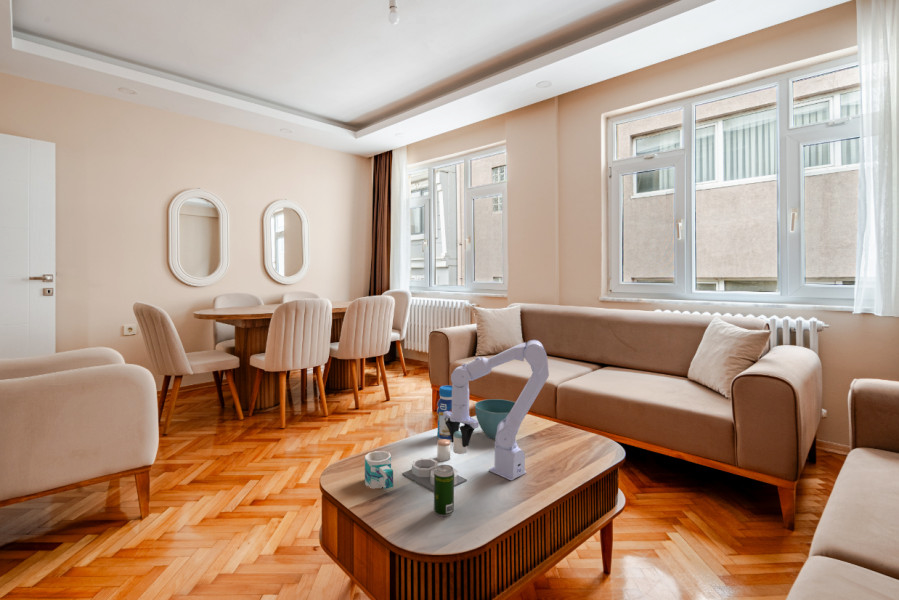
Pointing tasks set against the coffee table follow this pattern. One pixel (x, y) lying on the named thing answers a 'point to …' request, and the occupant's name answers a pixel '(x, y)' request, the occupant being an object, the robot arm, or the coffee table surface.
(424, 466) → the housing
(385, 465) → the mug
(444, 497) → the beer can
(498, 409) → the teal bowl
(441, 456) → the rounded-end tube
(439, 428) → the beverage bottle
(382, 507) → the coffee table surface
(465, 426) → the robot arm
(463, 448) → the teal-capped white cylinder
